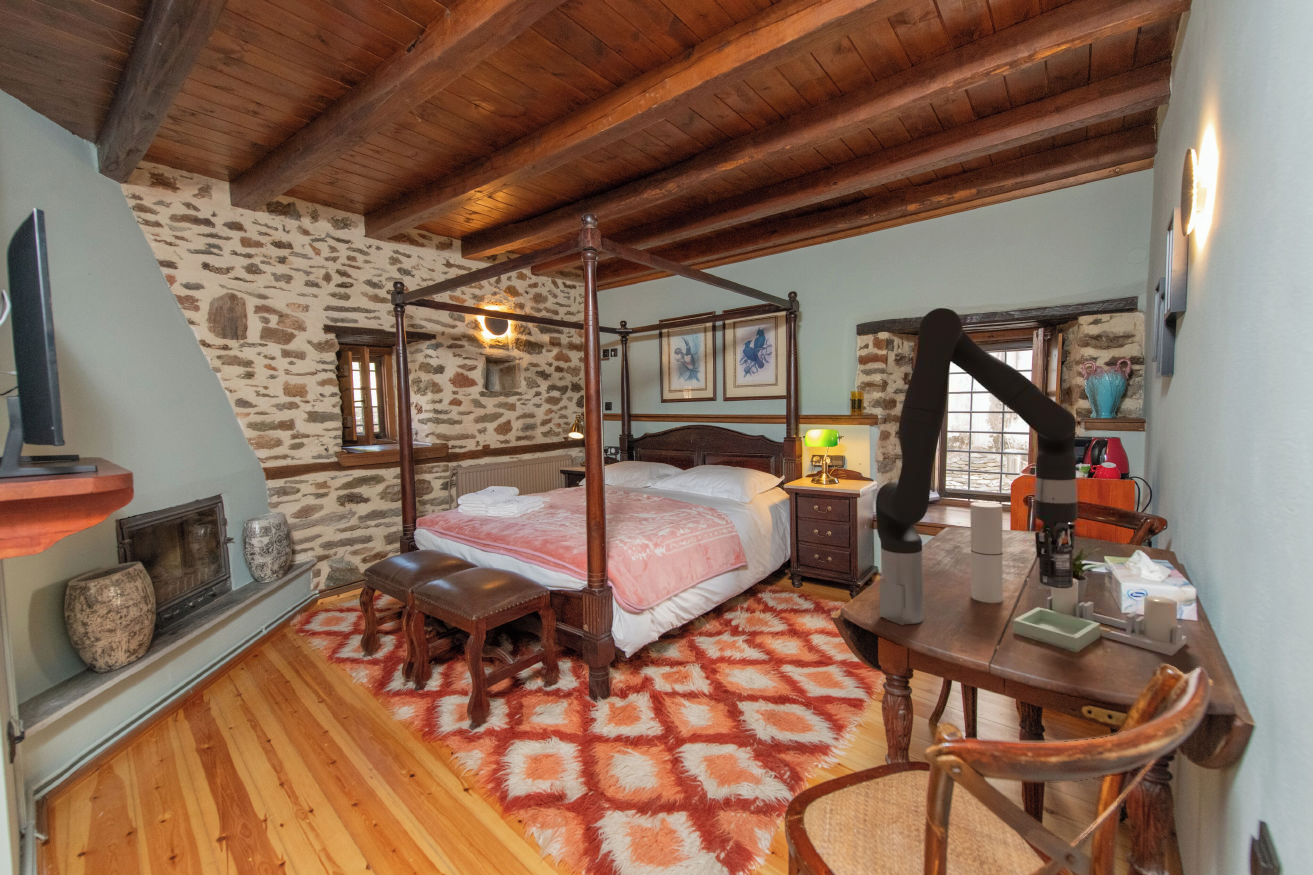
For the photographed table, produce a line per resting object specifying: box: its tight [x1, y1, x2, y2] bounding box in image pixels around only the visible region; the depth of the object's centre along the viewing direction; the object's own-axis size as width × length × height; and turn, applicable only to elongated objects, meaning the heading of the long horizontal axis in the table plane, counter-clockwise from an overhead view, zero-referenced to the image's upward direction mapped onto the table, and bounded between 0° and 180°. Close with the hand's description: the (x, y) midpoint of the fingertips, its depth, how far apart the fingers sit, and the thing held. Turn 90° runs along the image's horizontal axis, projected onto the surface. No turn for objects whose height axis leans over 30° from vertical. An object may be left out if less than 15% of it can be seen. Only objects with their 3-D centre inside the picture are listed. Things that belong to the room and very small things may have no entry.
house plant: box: [1073, 538, 1103, 604], centre depth 138 cm, size 14×14×16 cm
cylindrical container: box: [969, 501, 1004, 604], centre depth 141 cm, size 7×7×25 cm
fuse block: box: [1046, 578, 1187, 656], centre depth 119 cm, size 9×23×10 cm, turn 32°
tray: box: [1012, 606, 1101, 653], centre depth 119 cm, size 12×12×3 cm
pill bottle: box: [1038, 535, 1074, 589], centre depth 118 cm, size 6×6×11 cm
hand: (1055, 573), depth 118 cm, fingers closed on pill bottle, 6 cm apart
